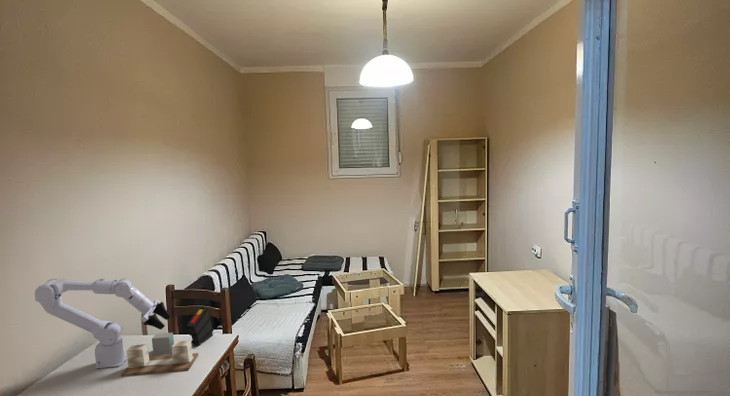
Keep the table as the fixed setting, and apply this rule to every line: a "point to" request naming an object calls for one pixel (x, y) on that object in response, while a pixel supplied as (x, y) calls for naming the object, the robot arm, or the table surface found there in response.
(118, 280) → the robot arm
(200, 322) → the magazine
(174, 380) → the table surface
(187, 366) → the board
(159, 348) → the block
